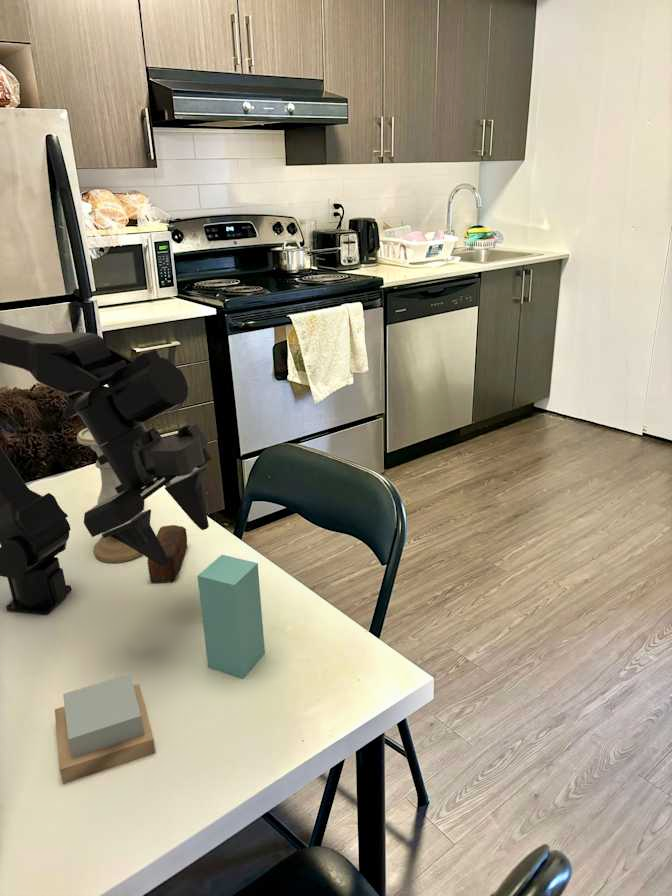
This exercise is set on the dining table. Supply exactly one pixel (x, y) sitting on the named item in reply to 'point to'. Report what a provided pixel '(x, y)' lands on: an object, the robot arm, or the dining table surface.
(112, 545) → the candle holder
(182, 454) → the robot arm
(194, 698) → the dining table surface
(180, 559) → the brick
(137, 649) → the dining table surface
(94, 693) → the tower middle block
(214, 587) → the tall teal block
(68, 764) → the tower base block
